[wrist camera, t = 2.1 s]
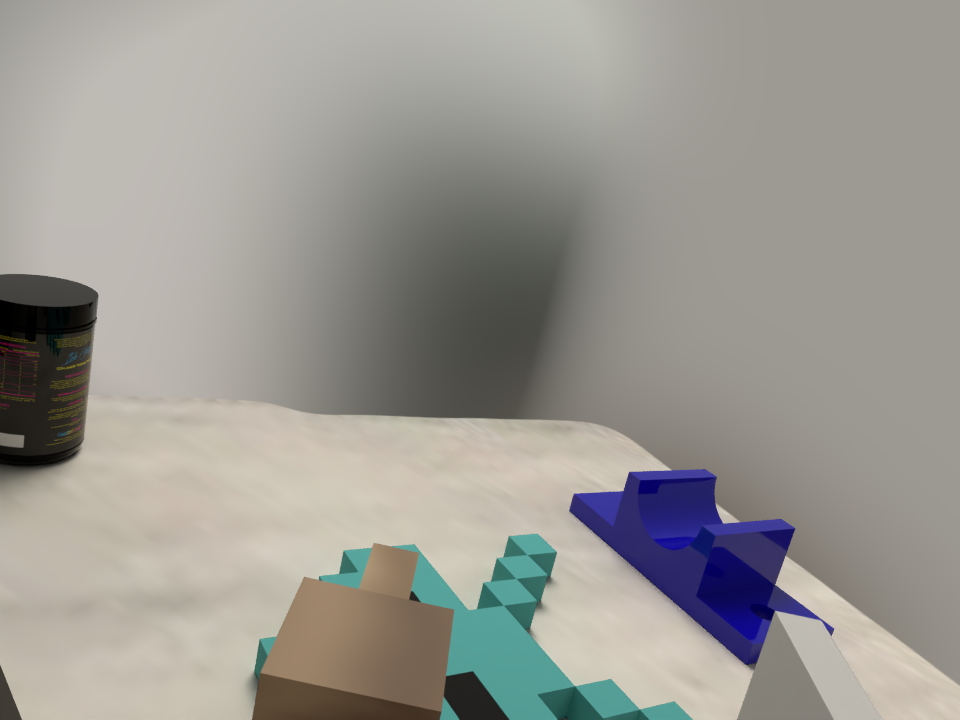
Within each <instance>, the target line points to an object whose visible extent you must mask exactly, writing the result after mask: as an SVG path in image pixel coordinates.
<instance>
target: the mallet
mask: <svg viewBox="0 0 960 720" xmlns="http://www.w3.org/2000/svg"><path fill="white" fill-rule="evenodd" d="M418 556H419V553H418V552H413V551H408V550H404V549H399V548H395V547H390V546H386V545H381V544H376V543H374V544H373V547H372V550H371V553H370V556H369V559H368V562H367V565H366V568H365V571H364V574H363V577H362V580H361V583H360V586H359V589H357V588H352V587H348V586H343V585H338V584H334V583H329V582H325V581H320V580H315V579H311V578H306V577H304V578H303V581H302V583H301V585H300V587H299V589H298V592H297V594H296V596H295V598H294V600H293V602H292V605H291V607H290V609H289V611H288V613H287V616H286V618H285V620H284V622H283V624H282V626H281V629H280V631H279V633H278V635H277V637H276V640H275V642H274V644H273V646H272V648H271V651H270V653H269V655H268V657H267V659H266V661H265V664H264V666H263V668H262V670H261V672H260V677H259V683H258V689H257V694H256V700H255V706H254V712H253V717H252V720H440V716H441V712H442V705H443V696H444V688H445V680H446V672H447V664H448V656H449V648H450V640H451V632H452V624H453V615H454V609H449V608H444V607H440V606H435V605H431V604H426V603H421V602H417V601H412V600H409V597H410V593H411V588H412V584H413V579H414V575H415V570H416V565H417V561H418Z"/></svg>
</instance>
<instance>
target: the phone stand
mask: <svg viewBox="0 0 960 720" xmlns="http://www.w3.org/2000/svg"><path fill="white" fill-rule="evenodd" d="M0 720H22V719H21V716H20V714H19V711H18V709H17V706H16V704H15V701H14V699H13V696H12V694H11V691H10V689H9V686H8V684H7V681H6V679H5V676H4V674H3V671H2V669H1V666H0Z"/></svg>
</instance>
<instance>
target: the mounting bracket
mask: <svg viewBox="0 0 960 720" xmlns="http://www.w3.org/2000/svg"><path fill="white" fill-rule="evenodd" d="M716 478H717V477H716V476H715V475H713V474H711V473H710V472H708V471H707V470H705V469H702V470H673V471H643V472H629V474H628V478H627V481H626V484H625V488H624V491H621V492H600V493H580V494H574V495H573V499H572V502H571V506H570V510H569V511H570V512H571V513H572V514H573V515H575V516H576V517H577V518H578V519H579V520H580V521H582V522H583V523H584V524H585V525H586V526H587V527H588V528H590V529H591V530H592V531H593V532H594V533H595V534H596V535H598V536H599V537H600V538H601V539H602V540H603V541H604V542H606V543H607V544H608V545H609V546H610V547H611V548H613V549H614V550H615V551H616V552H617V553H618V554H619V555H621V556H622V557H623V558H624V559H625V560H626V561H627V562H629V563H630V564H631V565H632V566H633V567H634V568H635V569H637V570H638V571H639V572H640V573H641V574H642V575H643V576H645V577H646V578H647V579H648V580H649V581H650V582H652V583H653V584H654V585H655V586H656V587H657V588H658V589H660V590H661V591H662V592H663V593H664V594H665V595H666V596H668V597H669V598H670V599H671V600H672V601H673V602H674V603H676V604H677V605H678V606H679V607H680V608H681V609H682V610H684V611H685V612H686V613H687V614H688V615H689V616H691V617H692V618H693V619H694V620H695V621H696V622H697V623H699V624H700V625H701V626H702V627H703V628H704V629H705V630H707V631H708V632H709V633H710V634H711V635H712V636H713V637H715V638H716V639H717V640H718V641H719V642H720V643H721V644H723V645H724V646H725V647H726V648H727V649H728V650H730V651H731V652H732V653H733V654H734V655H735V656H736V657H738V658H739V659H740V660H741V661H742V662H743V663H744V664H746V665H748V664H753V663H757V661H758V658H759V655H760V653H761V650H762V647H763V644H764V641H765V638H766V635H767V633H768V630H769V627H770V624H771V621H772V618H773V615H774V612H775V611H779V612H783V613H788V614H793V615H797V616H802V617H807V618H812V619H816V620H821V621H822V622H823V624H824V626H825V627H826V629H827V631H828V632H829V634H830V635H831V636H832V634H833V631H834V628H832V627H831V626H830V625H828V624H827V623H826V622H824V621H823V620H822V619H820V618H819V617H818V616H816V615H815V614H814V613H812V612H811V611H810V610H808V609H807V608H805V607H804V606H803V605H801V604H800V603H799V602H797V601H796V600H795V599H793V598H792V597H791V596H789V595H788V594H787V593H785V592H784V591H783V590H781V589H780V588H778V587H777V586H776V585H775V584H776V581H777V578H778V575H779V572H780V570H781V567H782V564H783V561H784V558H785V556H786V553H787V550H788V547H789V545H790V542H791V539H792V536H793V533H794V531H795V528H794V527H792V526H791V525H789V524H788V523H786V522H785V521H783V520H782V519H776V520H764V521H751V522H739V523H727V524H723V523H722V521H721V519H720V517H719V514H718V512H717V509H716V504H715V497H714V489H715V482H716Z"/></svg>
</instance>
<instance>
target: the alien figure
mask: <svg viewBox="0 0 960 720" xmlns="http://www.w3.org/2000/svg"><path fill="white" fill-rule="evenodd" d="M390 547H395V548H399V549H404V550H408V551H413V552H418V553H419V556H418V561H417V565H416V570H415V575H414V579H413V584H412V588H411V593H410V597H409V600H412V601H417V602H421V603H426V604H431V605H435V606H440V607H444V608H449V609H454V615H453V624H452V632H451V640H450V648H449V656H448V664H447V672H446V680H445V688H444V696H443V705H442V712H441V716H440V720H558V719H559V718H563V717H567V718H568V720H693V719H692V718H691V717H690V716H689V715H688V714H687V713H686V712H685V711H684V710H683V709H682V708H681V707H680V706H679V705H677V704H676V703H675V702H670V703H666V704H662V705H657V706H653V707H649V708H645V709H641V710H640V709H639V708H638V707H637V706H636V705H635V704H634V703H633V702H632V701H631V700H630V699H629V698H628V697H627V695H626V694H625V693H624V692H623V691H622V690H621V689H620V688H619V687H618V686H617V685H616V684H615V683H614V682H613V681H612V680H611V679H609V680H604V681H599V682H594V683H590V684H585V685H580V686H574V685H573V684H572V682H571V681H570V680H569V679H568V678H567V677H566V676H565V674H564V673H563V672H562V671H561V670H560V669H559V668H558V667H557V665H556V664H555V663H554V662H553V661H552V660H551V659H550V657H549V656H548V655H547V654H546V653H545V652H544V651H543V649H542V648H541V647H540V646H539V645H538V644H537V643H536V642H535V640H534V639H533V638H532V637H531V636H530V635H529V634H528V632H527V631H526V630H525V629H527V628H530V627H531V623H532V619H533V616H534V612H535V608H536V604H537V601H541V598H542V594H543V591H544V587H545V583H546V580H547V577H550V576H551V572H552V568H553V565H554V561H555V557H556V554H557V552H556V551H555V550H554V549H553V548H552V547H551V546H550V545H549V544H548V543H547V542H546V541H545V540H544V539H543V538H542V537H540V536H539V535H538V534H530V535H518V536H509V538H508V542H507V546H506V549H505V553H504V557H503V558H497V560H496V564H495V568H494V572H493V576H492V580H491V582H485V583H483V587H482V591H481V595H480V599H479V603H478V607H477V609H476V610H468V609H467V608H466V607H465V606H464V604H463V603H462V602H461V601H460V599H459V598H458V597H457V596H456V595H455V593H454V592H453V591H452V590H451V588H450V587H449V586H448V585H447V584H446V582H445V581H444V580H443V579H442V577H441V576H440V575H439V574H438V573H437V571H436V570H435V569H434V568H433V566H432V565H431V564H430V563H429V562H428V560H427V559H426V558H425V557H424V555H423V554H422V553H421V552H420V551H419V549H418V548H417V547H416V546H415V544H413V545H402V546H390ZM371 550H372V548H367V549H355V550H344V552H343V557H342V562H341V567H340V573H339V574H335V575H326V576H319V580H320V581H325V582H329V583H334V584H338V585H343V586H348V587H352V588H357V589H359V586H360V583H361V580H362V577H363V574H364V571H365V568H366V565H367V562H368V559H369V556H370V553H371ZM275 640H276V637H271V638H264V639H260V641H259V647H258V653H257V659H256V665H255V673H256V675H257V678H258V680H259V677H260V672H261V670H262V668H263V666H264V664H265V661H266V659H267V657H268V655H269V653H270V651H271V648H272V646H273V644H274V642H275Z"/></svg>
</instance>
